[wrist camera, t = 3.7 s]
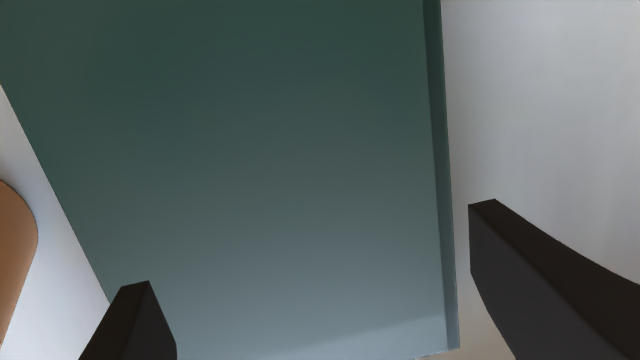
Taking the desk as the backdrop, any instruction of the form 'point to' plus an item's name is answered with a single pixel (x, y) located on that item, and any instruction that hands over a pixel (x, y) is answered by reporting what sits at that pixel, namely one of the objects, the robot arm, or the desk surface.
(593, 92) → the desk surface
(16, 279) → the orange cylinder
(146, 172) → the book
